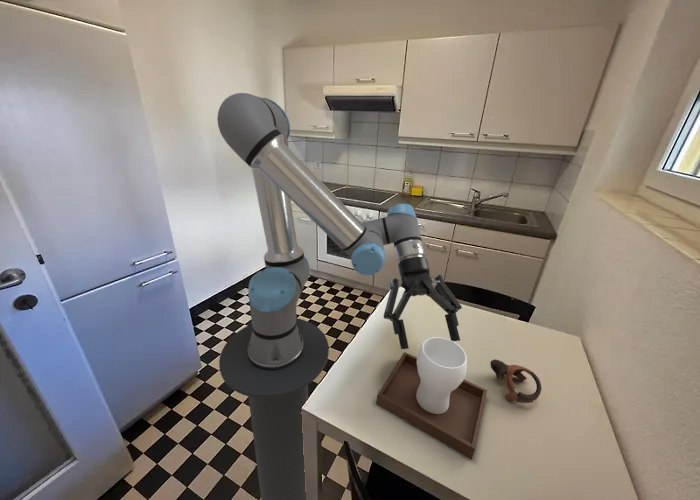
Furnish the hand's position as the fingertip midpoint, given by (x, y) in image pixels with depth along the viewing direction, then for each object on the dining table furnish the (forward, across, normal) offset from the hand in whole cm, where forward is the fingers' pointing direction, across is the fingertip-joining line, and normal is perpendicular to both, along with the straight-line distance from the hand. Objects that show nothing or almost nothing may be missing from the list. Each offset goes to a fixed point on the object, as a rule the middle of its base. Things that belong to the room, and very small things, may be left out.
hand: (431, 345), depth 66 cm
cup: (+12, 0, +6) cm, 14 cm away
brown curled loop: (+13, +23, +6) cm, 27 cm away
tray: (+13, 0, +7) cm, 14 cm away
